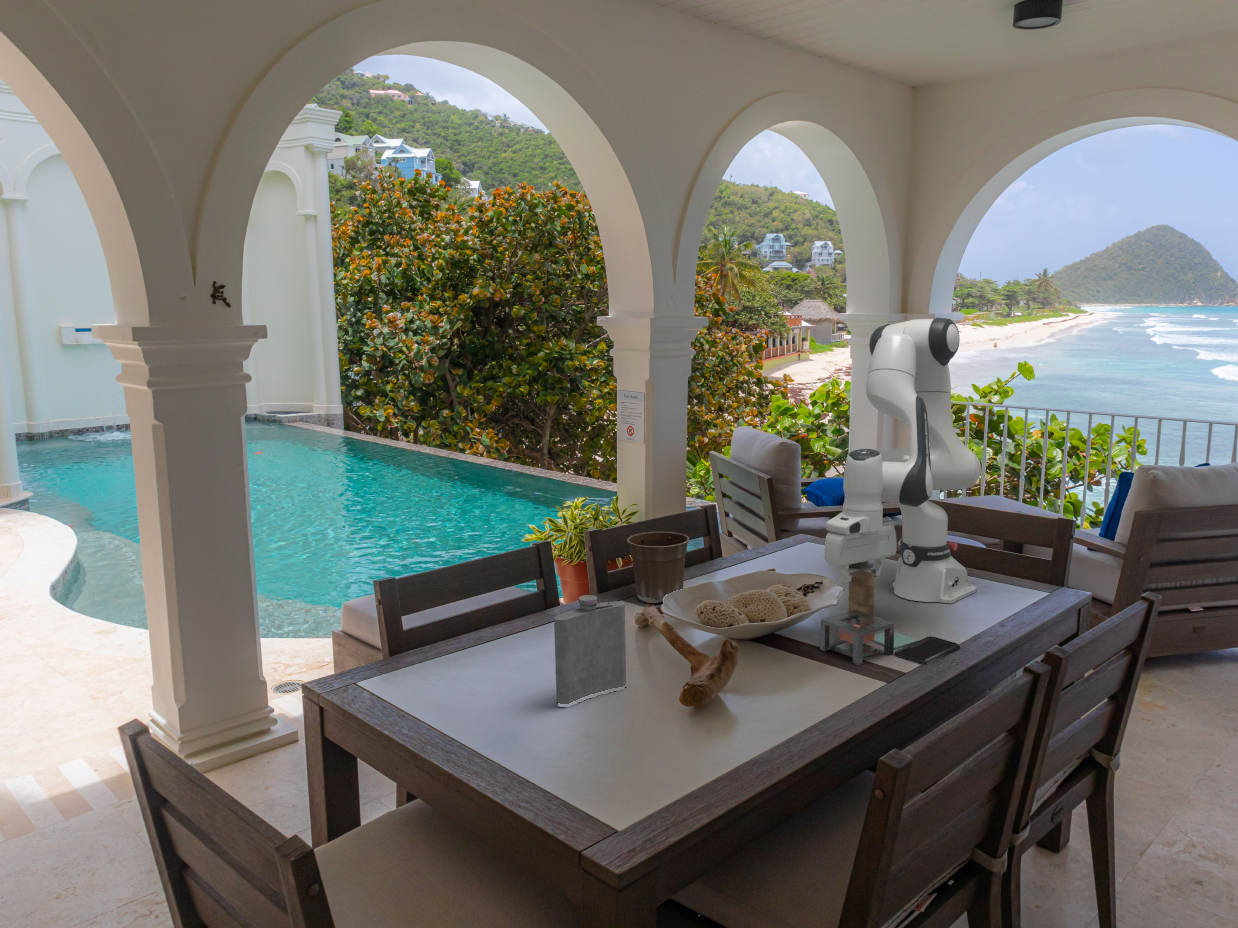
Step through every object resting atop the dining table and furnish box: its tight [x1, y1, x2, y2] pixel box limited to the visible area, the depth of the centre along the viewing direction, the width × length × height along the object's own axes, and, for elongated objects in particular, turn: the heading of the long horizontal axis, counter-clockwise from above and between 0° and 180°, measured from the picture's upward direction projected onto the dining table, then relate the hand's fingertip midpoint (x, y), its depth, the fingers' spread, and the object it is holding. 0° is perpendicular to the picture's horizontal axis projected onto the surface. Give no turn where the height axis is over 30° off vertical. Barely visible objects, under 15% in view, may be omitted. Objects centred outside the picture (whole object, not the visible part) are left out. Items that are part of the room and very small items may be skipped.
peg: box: [847, 569, 876, 626], centre depth 204 cm, size 4×4×14 cm
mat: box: [871, 631, 919, 651], centre depth 199 cm, size 8×8×1 cm
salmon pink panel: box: [839, 624, 875, 644], centre depth 192 cm, size 5×5×2 cm
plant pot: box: [626, 531, 690, 600], centre depth 232 cm, size 16×16×16 cm
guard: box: [819, 610, 895, 666], centre depth 192 cm, size 11×11×7 cm
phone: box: [894, 635, 961, 666], centre depth 192 cm, size 8×1×15 cm
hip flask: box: [553, 594, 627, 704], centre depth 171 cm, size 16×4×20 cm, turn 127°
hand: (860, 579), depth 203 cm, fingers open, 8 cm apart
